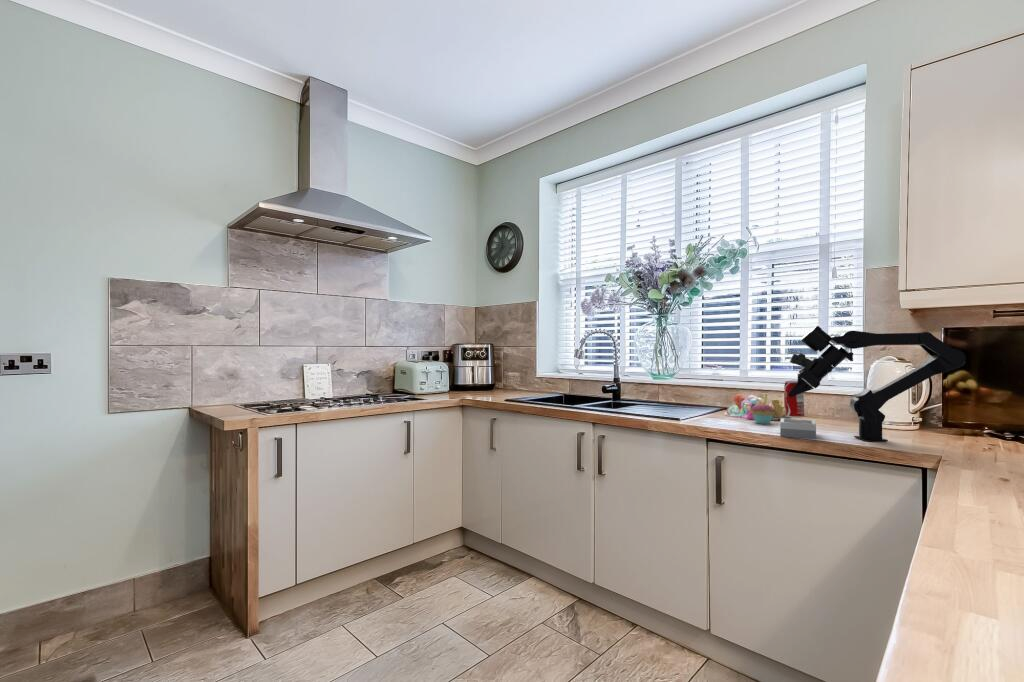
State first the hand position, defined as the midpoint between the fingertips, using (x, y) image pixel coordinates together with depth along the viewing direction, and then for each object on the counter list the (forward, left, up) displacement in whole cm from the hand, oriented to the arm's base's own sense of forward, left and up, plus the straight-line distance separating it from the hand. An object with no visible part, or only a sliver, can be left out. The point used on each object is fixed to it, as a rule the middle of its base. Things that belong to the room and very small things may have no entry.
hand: (789, 395), depth 166 cm
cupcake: (+24, -1, -13) cm, 27 cm away
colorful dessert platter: (+42, -5, -14) cm, 44 cm away
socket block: (-1, -2, -13) cm, 13 cm away
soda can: (-1, -1, -7) cm, 7 cm away
